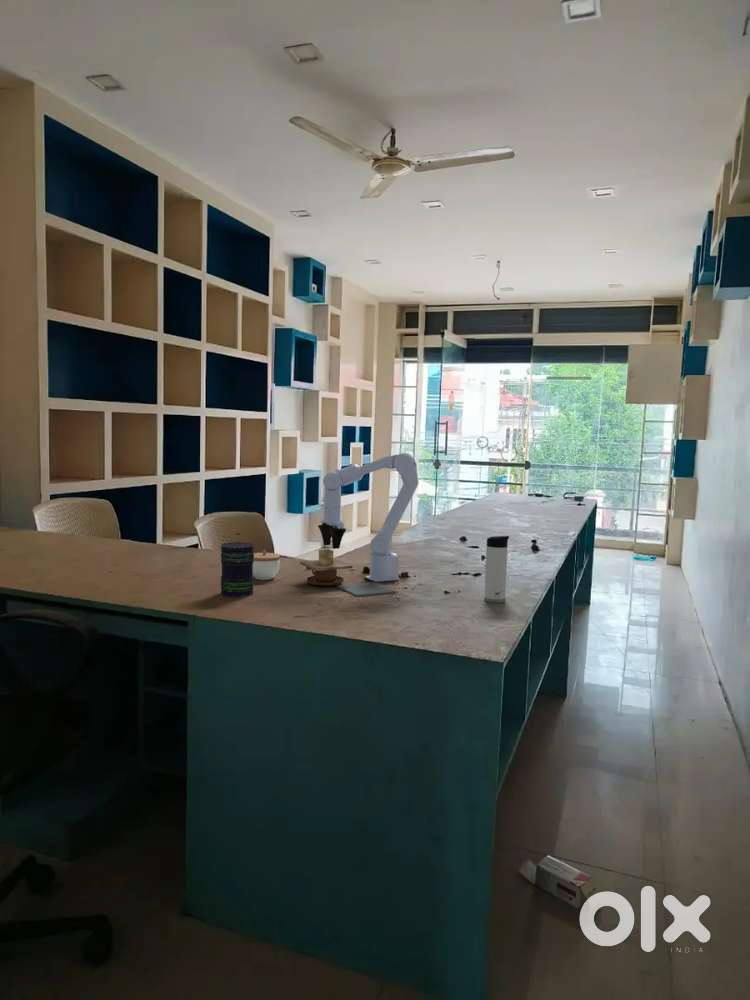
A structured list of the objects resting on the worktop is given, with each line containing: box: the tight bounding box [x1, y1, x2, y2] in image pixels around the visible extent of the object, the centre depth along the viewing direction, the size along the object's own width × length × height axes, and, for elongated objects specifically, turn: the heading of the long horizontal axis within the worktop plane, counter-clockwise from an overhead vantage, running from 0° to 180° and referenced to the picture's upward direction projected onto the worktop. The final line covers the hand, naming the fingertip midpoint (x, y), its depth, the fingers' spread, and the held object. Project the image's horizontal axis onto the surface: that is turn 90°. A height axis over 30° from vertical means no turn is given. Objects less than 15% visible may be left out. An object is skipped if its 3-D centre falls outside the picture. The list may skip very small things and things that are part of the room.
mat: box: [336, 581, 398, 598], centre depth 217 cm, size 14×14×1 cm
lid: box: [299, 548, 353, 571], centre depth 224 cm, size 13×13×5 cm
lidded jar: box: [253, 549, 281, 581], centre depth 231 cm, size 11×11×9 cm
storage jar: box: [220, 532, 255, 598], centre depth 207 cm, size 10×10×18 cm
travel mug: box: [483, 535, 510, 604], centre depth 207 cm, size 6×7×20 cm
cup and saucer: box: [306, 569, 345, 587], centre depth 224 cm, size 12×12×6 cm
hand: (331, 546), depth 235 cm, fingers open, 7 cm apart
